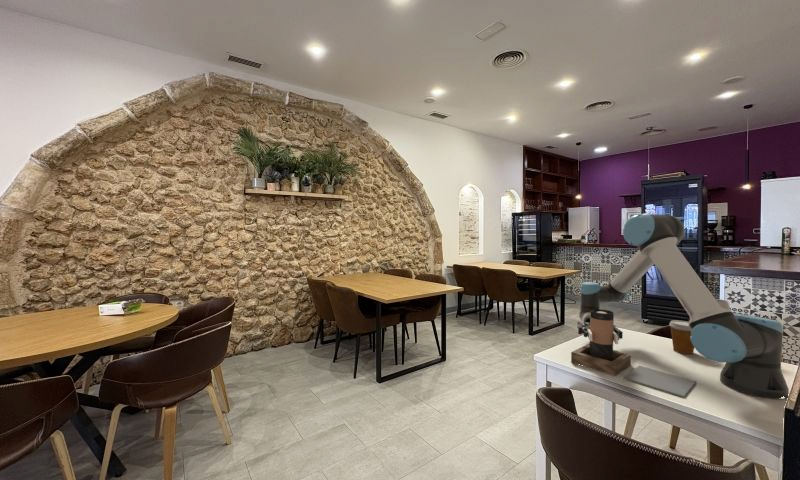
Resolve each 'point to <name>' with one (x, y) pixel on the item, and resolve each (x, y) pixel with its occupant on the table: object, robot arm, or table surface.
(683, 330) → the disposable coffee cup
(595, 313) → the travel mug
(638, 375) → the rubber mat
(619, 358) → the frame
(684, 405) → the table surface
